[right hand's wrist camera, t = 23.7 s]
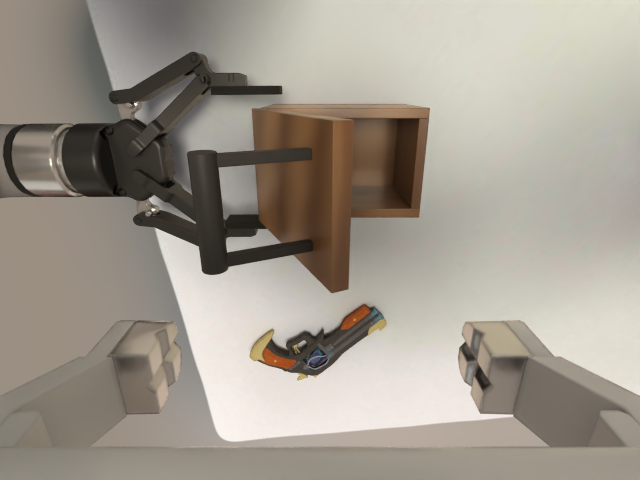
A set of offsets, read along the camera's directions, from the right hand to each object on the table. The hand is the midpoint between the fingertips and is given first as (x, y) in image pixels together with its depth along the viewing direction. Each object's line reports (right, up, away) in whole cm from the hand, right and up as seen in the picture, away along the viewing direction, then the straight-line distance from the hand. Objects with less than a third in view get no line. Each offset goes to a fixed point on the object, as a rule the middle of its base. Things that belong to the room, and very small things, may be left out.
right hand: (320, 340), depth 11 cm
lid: (-2, +7, +18) cm, 20 cm away
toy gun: (-1, -11, +45) cm, 46 cm away
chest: (+2, +14, +35) cm, 38 cm away
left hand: (-4, +11, +29) cm, 31 cm away
